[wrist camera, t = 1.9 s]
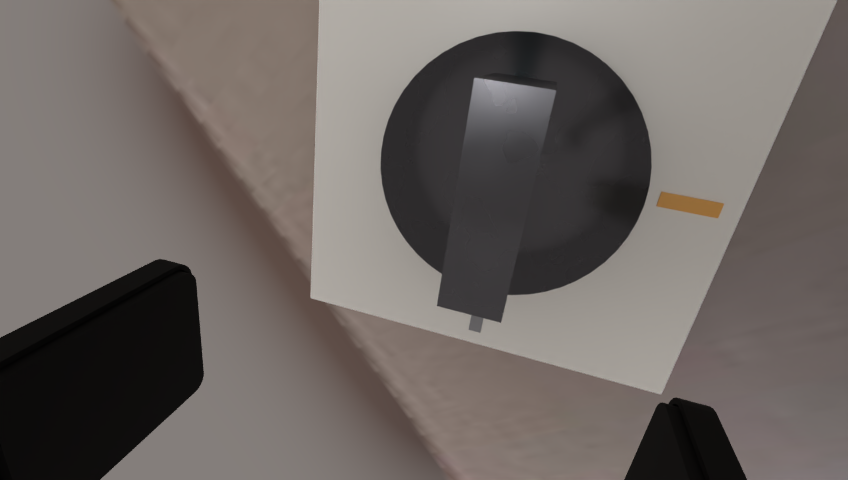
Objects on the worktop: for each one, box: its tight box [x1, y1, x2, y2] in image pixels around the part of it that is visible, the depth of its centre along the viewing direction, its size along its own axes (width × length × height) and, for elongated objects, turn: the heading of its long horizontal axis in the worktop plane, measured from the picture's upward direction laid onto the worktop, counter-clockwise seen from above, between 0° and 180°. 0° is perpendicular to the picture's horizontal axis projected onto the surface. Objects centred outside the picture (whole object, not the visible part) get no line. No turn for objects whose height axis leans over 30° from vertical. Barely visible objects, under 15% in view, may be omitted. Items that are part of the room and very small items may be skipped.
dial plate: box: [311, 0, 837, 394], centre depth 26 cm, size 24×24×2 cm
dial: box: [381, 31, 652, 323], centre depth 22 cm, size 14×14×8 cm
